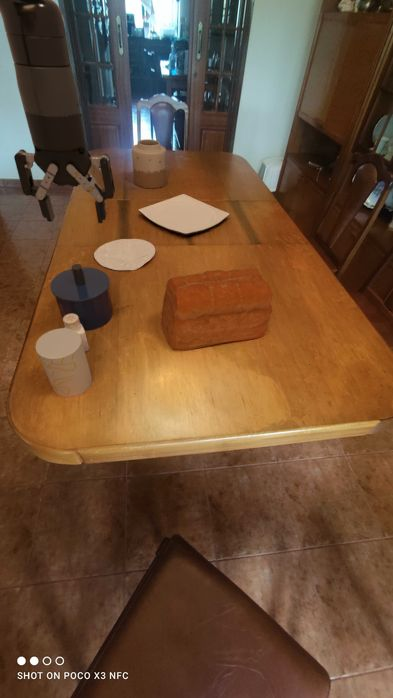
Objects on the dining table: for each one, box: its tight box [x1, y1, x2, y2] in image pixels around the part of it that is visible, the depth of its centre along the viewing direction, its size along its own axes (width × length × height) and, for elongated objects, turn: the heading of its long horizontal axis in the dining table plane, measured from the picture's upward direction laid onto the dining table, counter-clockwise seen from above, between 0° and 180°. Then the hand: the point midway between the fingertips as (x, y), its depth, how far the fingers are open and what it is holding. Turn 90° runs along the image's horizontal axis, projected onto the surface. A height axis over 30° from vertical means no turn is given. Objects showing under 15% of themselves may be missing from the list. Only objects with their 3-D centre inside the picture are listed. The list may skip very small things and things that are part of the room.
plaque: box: [93, 238, 156, 271], centre depth 105 cm, size 20×20×2 cm
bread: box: [160, 268, 274, 351], centre depth 78 cm, size 14×27×15 cm, turn 106°
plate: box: [138, 193, 230, 236], centre depth 126 cm, size 29×29×3 cm
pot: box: [54, 287, 114, 332], centre depth 81 cm, size 13×13×10 cm
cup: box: [35, 327, 93, 398], centre depth 64 cm, size 8×8×12 cm
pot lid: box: [49, 263, 111, 302], centre depth 76 cm, size 14×14×6 cm
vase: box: [131, 138, 167, 190], centre depth 145 cm, size 15×15×17 cm
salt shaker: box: [62, 313, 90, 352], centre depth 72 cm, size 4×4×10 cm
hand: (76, 220), depth 56 cm, fingers open, 8 cm apart
